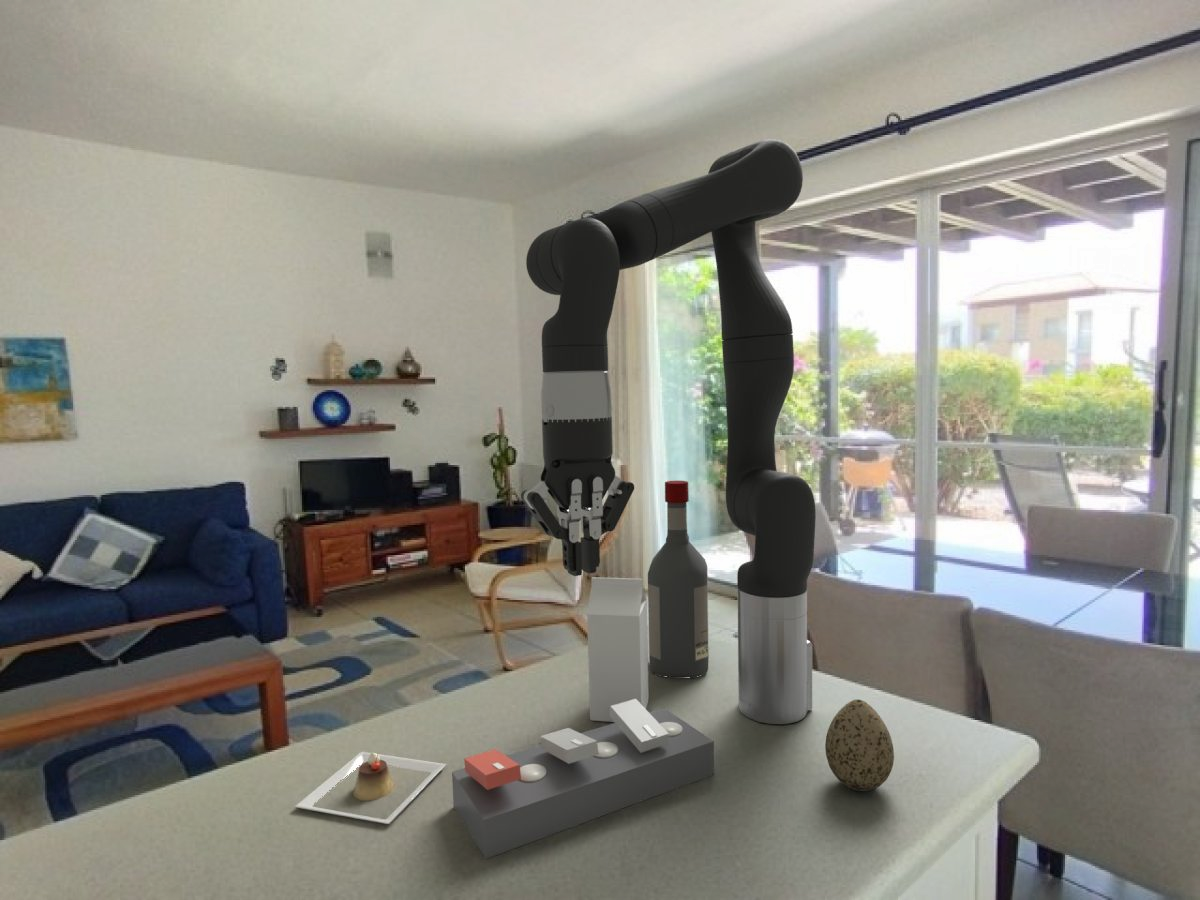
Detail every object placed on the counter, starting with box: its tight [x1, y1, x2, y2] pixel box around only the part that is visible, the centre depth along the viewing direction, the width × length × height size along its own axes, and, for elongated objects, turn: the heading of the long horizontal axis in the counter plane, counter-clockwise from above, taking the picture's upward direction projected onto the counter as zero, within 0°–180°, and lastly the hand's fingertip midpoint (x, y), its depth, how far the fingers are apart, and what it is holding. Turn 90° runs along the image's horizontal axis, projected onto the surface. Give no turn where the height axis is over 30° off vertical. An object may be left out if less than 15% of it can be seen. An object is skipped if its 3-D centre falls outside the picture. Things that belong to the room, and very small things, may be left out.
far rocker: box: [610, 699, 669, 753], centre depth 82 cm, size 4×7×2 cm, turn 30°
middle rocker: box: [539, 727, 599, 764], centre depth 78 cm, size 4×7×2 cm, turn 30°
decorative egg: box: [824, 699, 895, 792], centre depth 78 cm, size 7×7×10 cm
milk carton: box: [586, 576, 650, 723], centre depth 97 cm, size 7×7×19 cm
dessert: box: [294, 751, 447, 825], centre depth 81 cm, size 12×12×5 cm
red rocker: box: [463, 748, 521, 790], centre depth 73 cm, size 4×7×2 cm, turn 30°
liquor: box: [647, 480, 710, 679], centre depth 112 cm, size 9×9×30 cm
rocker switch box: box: [451, 707, 715, 860], centre depth 79 cm, size 28×10×4 cm, turn 120°
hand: (581, 572), depth 77 cm, fingers closed
